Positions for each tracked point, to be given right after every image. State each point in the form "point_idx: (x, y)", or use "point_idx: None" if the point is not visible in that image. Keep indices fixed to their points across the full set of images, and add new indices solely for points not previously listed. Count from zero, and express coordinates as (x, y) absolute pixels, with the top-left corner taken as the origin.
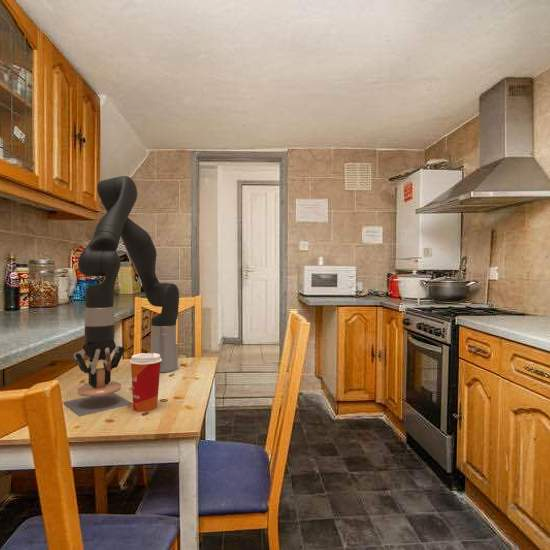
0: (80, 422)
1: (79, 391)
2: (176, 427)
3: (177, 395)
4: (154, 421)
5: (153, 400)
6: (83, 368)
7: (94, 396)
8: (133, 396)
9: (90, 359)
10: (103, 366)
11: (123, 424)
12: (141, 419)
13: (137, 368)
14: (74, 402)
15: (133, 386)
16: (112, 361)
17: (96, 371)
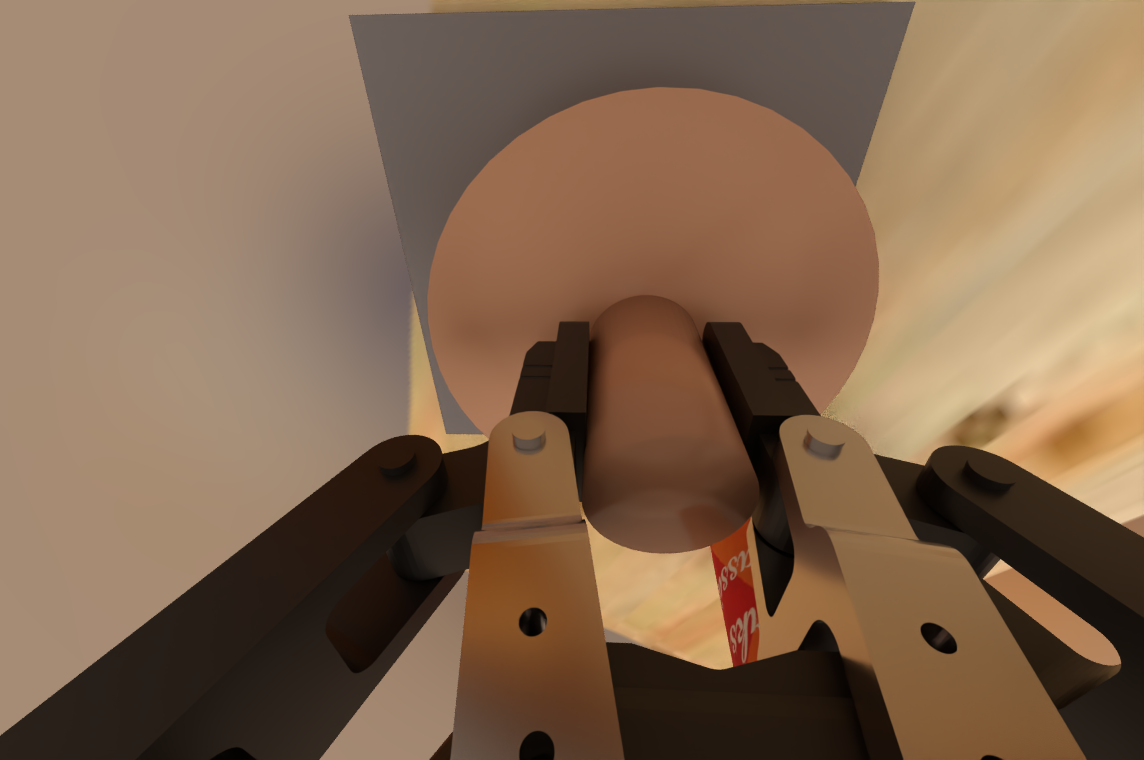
0: (452, 445)
1: (438, 350)
2: (716, 645)
3: (1126, 405)
4: (703, 589)
5: None
6: (371, 607)
7: (686, 39)
8: (720, 581)
9: (504, 645)
10: (782, 470)
11: (599, 554)
12: (681, 554)
13: None
14: (464, 123)
15: (733, 655)
16: (1012, 556)
17: (595, 514)
